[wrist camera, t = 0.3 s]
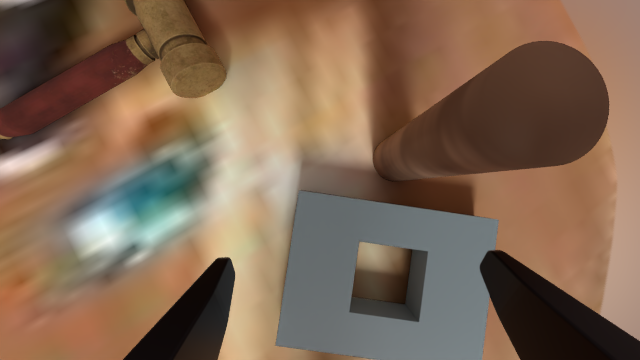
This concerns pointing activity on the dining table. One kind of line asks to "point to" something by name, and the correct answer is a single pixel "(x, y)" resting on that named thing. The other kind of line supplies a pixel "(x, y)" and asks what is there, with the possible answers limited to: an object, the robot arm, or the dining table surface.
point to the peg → (505, 118)
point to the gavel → (124, 68)
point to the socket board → (379, 316)
